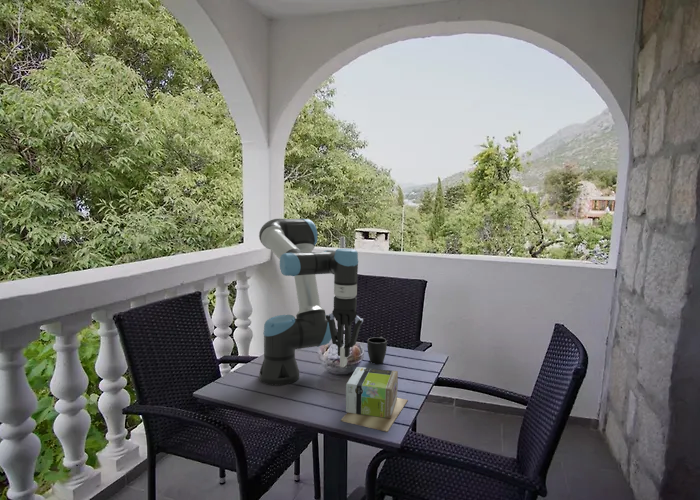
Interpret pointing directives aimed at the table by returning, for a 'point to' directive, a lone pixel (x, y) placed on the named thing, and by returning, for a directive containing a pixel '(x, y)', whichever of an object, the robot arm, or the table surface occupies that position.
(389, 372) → the tea box
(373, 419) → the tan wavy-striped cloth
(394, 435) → the table surface
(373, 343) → the mug
